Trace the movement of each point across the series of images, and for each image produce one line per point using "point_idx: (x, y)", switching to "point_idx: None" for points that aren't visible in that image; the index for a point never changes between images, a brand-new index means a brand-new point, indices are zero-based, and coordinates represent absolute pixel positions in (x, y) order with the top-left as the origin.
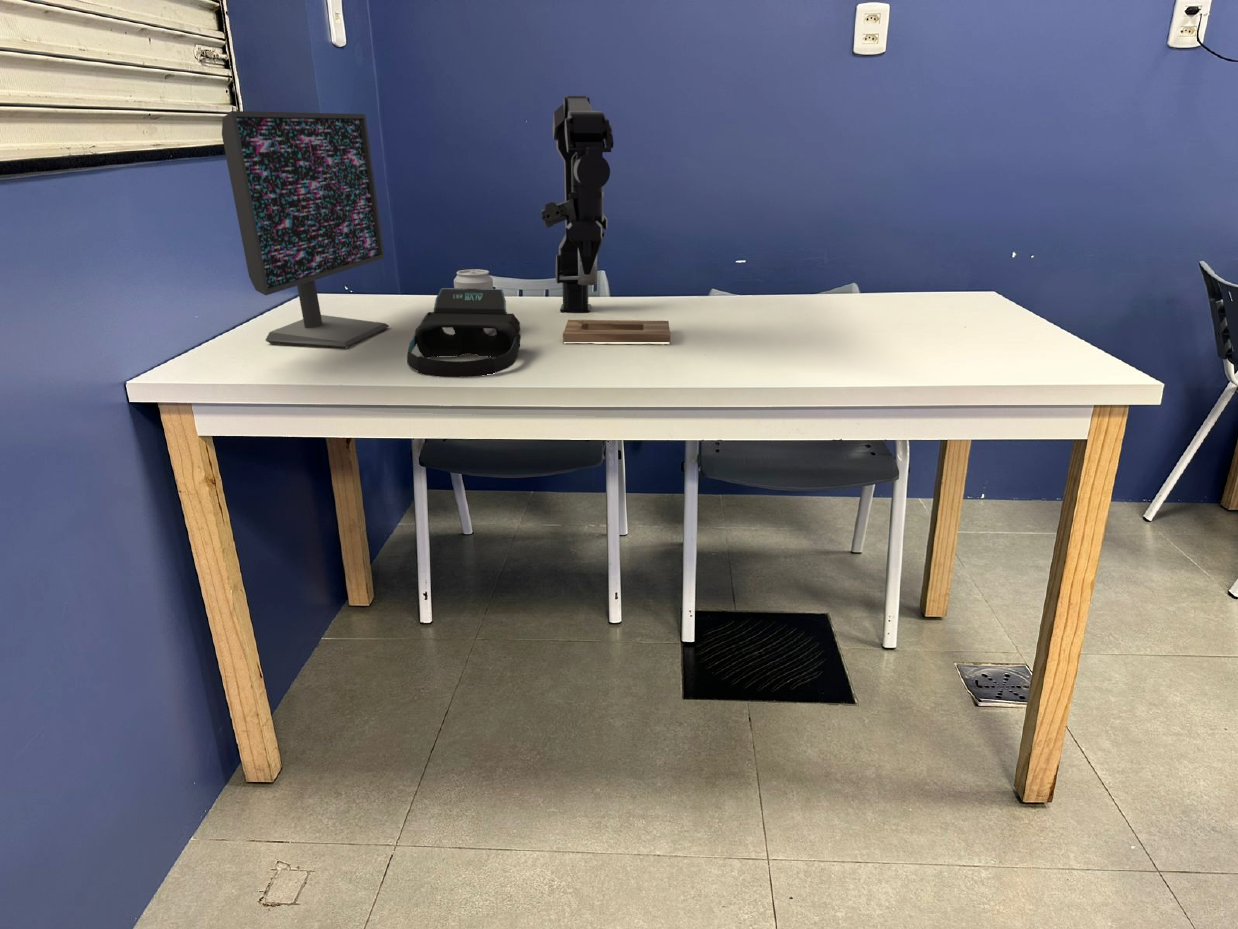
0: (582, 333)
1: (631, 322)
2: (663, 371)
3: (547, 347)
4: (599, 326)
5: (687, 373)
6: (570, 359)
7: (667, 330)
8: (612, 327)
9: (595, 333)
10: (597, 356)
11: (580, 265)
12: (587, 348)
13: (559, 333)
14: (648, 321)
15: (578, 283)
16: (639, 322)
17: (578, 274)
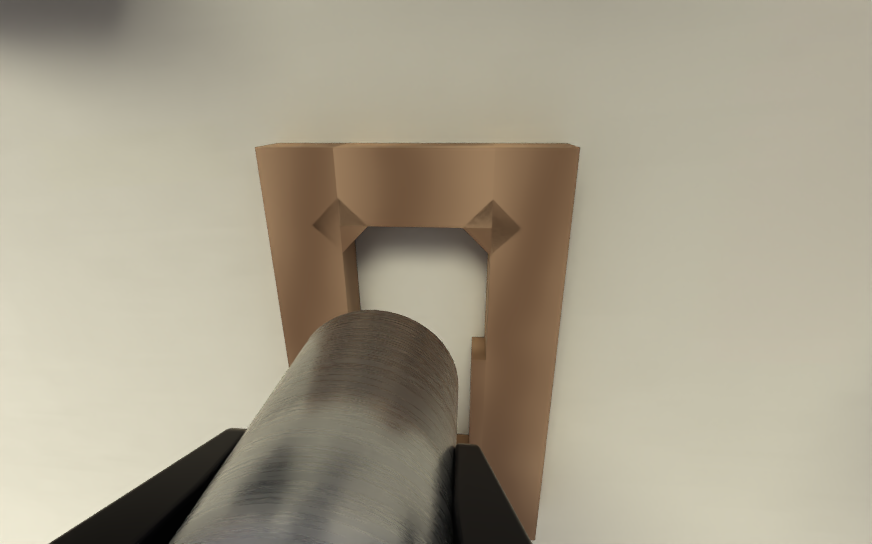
0: (272, 239)
1: (505, 427)
2: (30, 455)
3: (203, 74)
4: (487, 300)
5: (36, 501)
6: (49, 193)
7: None
8: (485, 349)
9: (282, 293)
10: (123, 287)
11: (228, 459)
12: (227, 248)
13: (486, 103)
14: (522, 482)
15: (354, 313)
16: (504, 453)
17: (323, 359)
